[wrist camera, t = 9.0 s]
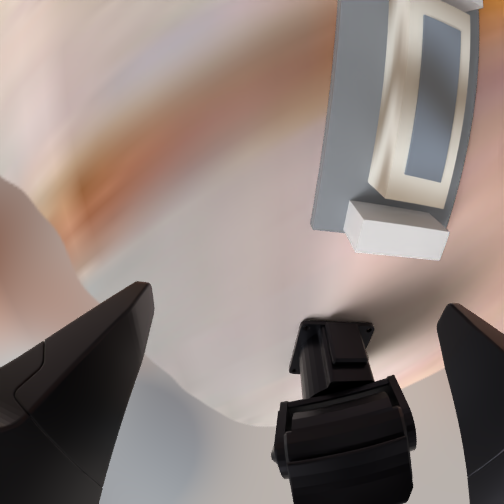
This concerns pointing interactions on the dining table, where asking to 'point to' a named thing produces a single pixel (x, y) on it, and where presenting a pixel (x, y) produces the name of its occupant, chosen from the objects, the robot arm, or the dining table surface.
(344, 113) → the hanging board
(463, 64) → the frame
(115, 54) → the dining table surface
